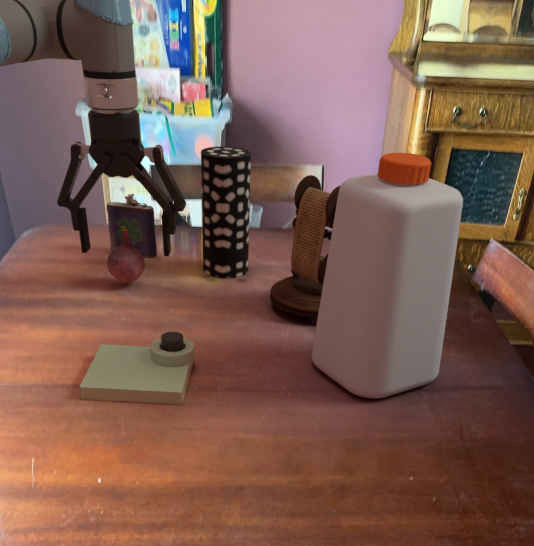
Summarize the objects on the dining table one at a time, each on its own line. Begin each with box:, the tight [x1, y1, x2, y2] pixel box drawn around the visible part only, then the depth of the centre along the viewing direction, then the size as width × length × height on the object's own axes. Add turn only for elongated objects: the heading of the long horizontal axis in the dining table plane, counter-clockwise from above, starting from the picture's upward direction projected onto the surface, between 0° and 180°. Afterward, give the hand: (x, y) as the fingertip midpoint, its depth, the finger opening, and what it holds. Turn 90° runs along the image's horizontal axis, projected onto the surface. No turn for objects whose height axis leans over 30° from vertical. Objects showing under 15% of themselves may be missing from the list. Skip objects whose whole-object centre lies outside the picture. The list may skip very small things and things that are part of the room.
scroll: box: [269, 174, 341, 326], centre depth 106 cm, size 15×15×20 cm
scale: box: [79, 336, 196, 406], centre depth 90 cm, size 13×12×4 cm
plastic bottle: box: [311, 152, 464, 399], centre depth 87 cm, size 15×15×28 cm
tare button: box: [160, 331, 184, 352], centre depth 91 cm, size 3×3×2 cm
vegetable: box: [106, 226, 146, 286], centre depth 114 cm, size 6×6×10 cm
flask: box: [105, 193, 158, 259], centre depth 126 cm, size 9×3×11 cm, turn 76°
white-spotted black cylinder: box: [200, 146, 252, 279], centre depth 118 cm, size 8×8×20 cm
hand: (126, 252), depth 113 cm, fingers open, 13 cm apart
